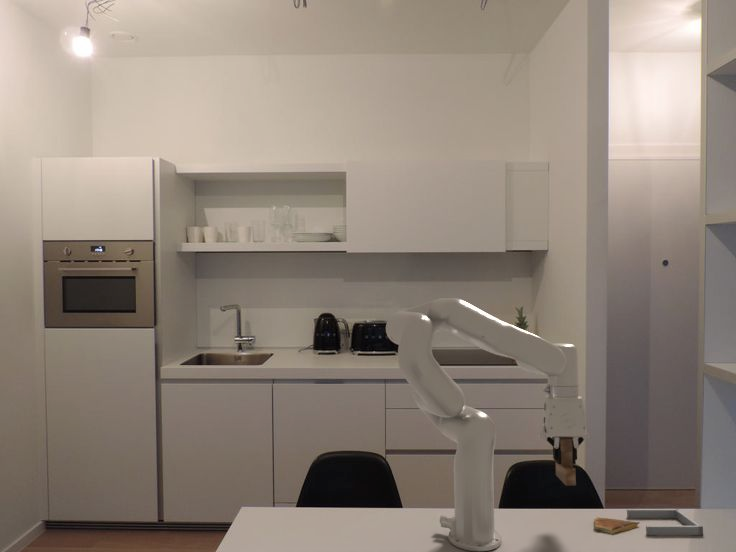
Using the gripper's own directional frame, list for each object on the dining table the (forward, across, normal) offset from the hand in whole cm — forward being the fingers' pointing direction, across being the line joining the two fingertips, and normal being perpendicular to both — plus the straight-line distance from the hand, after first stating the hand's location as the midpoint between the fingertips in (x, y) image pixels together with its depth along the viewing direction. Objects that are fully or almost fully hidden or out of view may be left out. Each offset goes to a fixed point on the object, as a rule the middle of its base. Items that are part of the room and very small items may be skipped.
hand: (565, 462), depth 143 cm
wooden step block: (+5, 0, 0) cm, 5 cm away
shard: (+17, +11, 0) cm, 20 cm away
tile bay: (+16, +24, 0) cm, 29 cm away
